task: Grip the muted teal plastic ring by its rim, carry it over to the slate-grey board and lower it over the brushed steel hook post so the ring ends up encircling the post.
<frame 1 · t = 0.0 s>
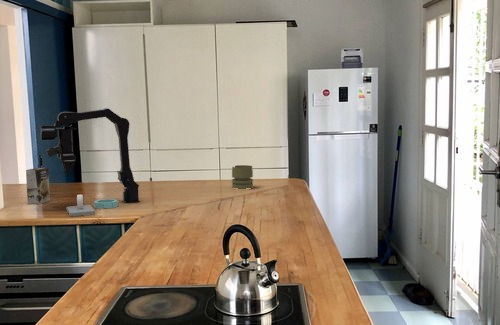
hand: (67, 174, 234), 15 cm above the worktop, fingers open, 9 cm apart
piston: (242, 188, 285), on the worktop
teal ring: (105, 206, 236), on the worktop
coffee box: (39, 202, 247), on the worktop
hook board: (80, 212, 224), on the worktop
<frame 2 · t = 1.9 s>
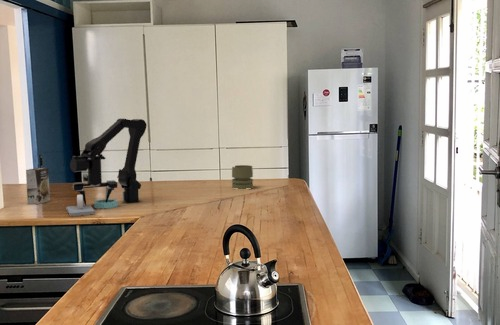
hand: (95, 204, 234), 1 cm above the worktop, fingers open, 9 cm apart
nothing on the worktop moved.
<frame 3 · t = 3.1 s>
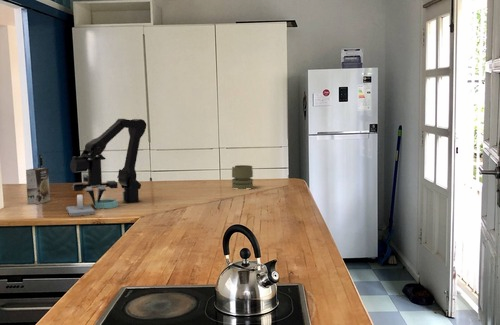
hand: (96, 204, 234), 1 cm above the worktop, fingers closed on teal ring, 1 cm apart
teal ring: (105, 206, 236), on the worktop, touching gripper
everything else where it was.
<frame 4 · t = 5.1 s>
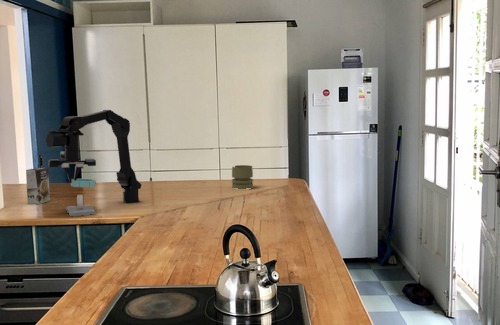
hand: (72, 182, 223), 13 cm above the worktop, fingers closed on teal ring
teal ring: (83, 185, 224), point 11 cm above the worktop, touching gripper
everything else where it was.
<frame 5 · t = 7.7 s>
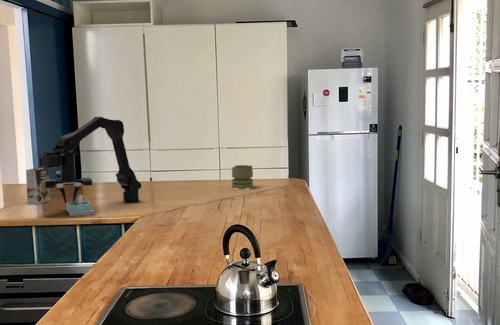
hand: (69, 202, 222), 5 cm above the worktop, fingers open, 3 cm apart
teal ring: (79, 208, 223), point 1 cm above the worktop, touching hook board
everything else where it was.
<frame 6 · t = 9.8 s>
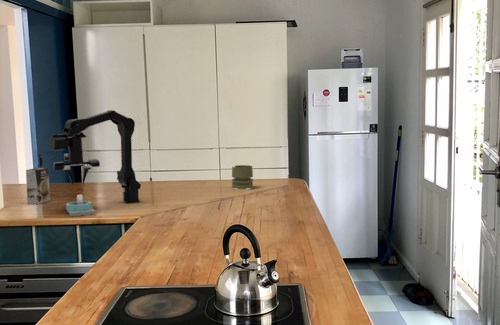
hand: (78, 183, 229), 11 cm above the worktop, fingers open, 4 cm apart
nothing on the worktop moved.
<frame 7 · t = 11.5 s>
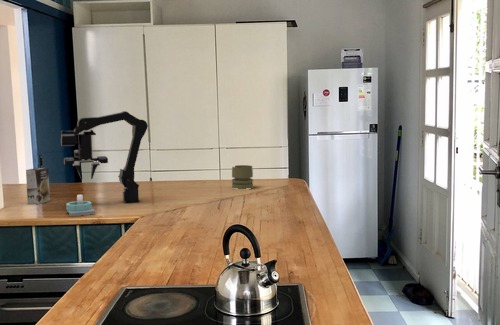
hand: (86, 179, 238), 12 cm above the worktop, fingers open, 4 cm apart
nothing on the worktop moved.
at the end: teal ring 0.5 cm off-centre on the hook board, point 1.5 cm above the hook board's base; teal ring tilted 0°; the gripper is holding nothing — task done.
